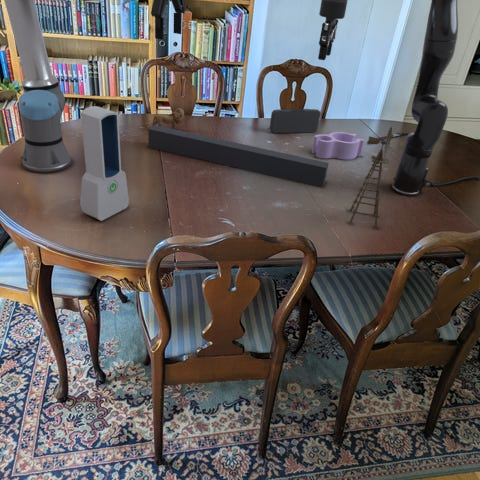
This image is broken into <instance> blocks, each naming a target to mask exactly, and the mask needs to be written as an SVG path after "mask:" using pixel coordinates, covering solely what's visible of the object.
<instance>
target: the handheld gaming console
mask: <svg viewBox="0 0 480 480" xmlns="http://www.w3.org/2000/svg"><path fill="white" fill-rule="evenodd" d="M321 115H322V113H321V111H320V110H319V109H316V108H283V109H273V110H272V111H271V114H270V123H269V131H270V132H271V133H272V134H290V133H292V134H293V133H315V132H317V131H318V129H319V123H320V118H321Z"/></svg>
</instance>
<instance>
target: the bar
mask: <svg viewBox="0 0 480 480" xmlns="http://www.w3.org/2000/svg"><path fill="white" fill-rule="evenodd" d="M151 126H152V125H151ZM151 126H150V127H151ZM150 127H149V128H148V129H147V133H148V135H147V137H148V138H147V139H148V148H150V149H154V150H159V151H163V152H168V153H172V154H176V155H181V156H185V157H188V158H193V159H197V160H202V161H207V162H211V163H215V164H220V165H224V166H227V167H228V166H229V167H232V168H238V169H242V170H246V171H250V172H253V173H258V174H264V175H268V176H272V177H276V178H281V179H285V180H289V181H293V182H297V183H301V184H307V185H311V186H315V187H320V188H323V186H324V184H325V182H326V178H327V173H328V168H329V162H327V161H323V160H317V159H313V158H309V157H304V156H298V155H295V154H289V153H285V152H281V151H276V150H272V149H266V148H261V147H258V146H253V145H248V144H243V143H239V142H236V141H235V142H234V141H229V140H226V139H220V138H215V137H211V136H207V135H202V134H198V133H193V132H188V131H183V130H179V129H176V130H175V129H172V128H170V127H164V126H161V125H160V126H158V125H157V124H156V125H154V126H152V127H151V128H150Z"/></svg>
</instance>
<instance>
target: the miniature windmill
mask: <svg viewBox="0 0 480 480" xmlns="http://www.w3.org/2000/svg"><path fill="white" fill-rule="evenodd" d="M392 135H393V126H390V127H389V129H388V131H387V134H386V136H387V138H385V139H381V140H379V139H377V138H378V137H373V136H368V140H367V145H378V144H381V148H380V149H379V151H378V153H377V155H371V158H370V159H371V162H372V163H371V167H370V169H369V170H368V173H367V175H366V176H365V177H364V181H363V182H362V184H361V186H360V188H359V189H358V193H357V194H356V196H355V199H354V200H353V201H352V205H351V207H350V209H349V212H352V215H351V217H350V220H349V224H352V223H353V220H354V218H355V216H356V214H358V215H359V214H360V215H364V216H370V217H375V218H374V228H377V226H378V218H379V217H380V215H379V203H380V200H381V198H380V189H381V185H382V182H381V181H382V172H383V164H384V165H386V164H387V165H389V164H390V161H389V158H388V157H387V154H388V150H389V149H390V148H389V146H390V145H391V141H392V137H391V136H392ZM383 147H384V148H383ZM383 150H384V151H383ZM376 168H379V169H376ZM374 171H375V172H378V176H377V177H374V176H373V174H374ZM371 179H372V180H377V183H373V182H370V181H371ZM369 185H372V186H376V189H370V188H368V186H369ZM366 191H367V192H373V193H375V197H372V196H371V197H370V196H364V195H365V193H366ZM363 199H367V200H368V199H369V200H374V201H375V202H374V203H368V202H362V200H363ZM360 204H362V205H367V206H368V205H369V206H373V207H374V209H373V214H372V213H365V212H360V211H358V209H359V206H360ZM355 205H356V206H355Z"/></svg>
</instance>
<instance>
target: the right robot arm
mask: <svg viewBox="0 0 480 480" xmlns="http://www.w3.org/2000/svg"><path fill="white" fill-rule="evenodd" d="M348 1H349V0H321V1H320V7H319V13H318V15H319V16H320V17H322V18H325V21H324V22H322V24H321V31H320V36H319V41H318V45H319V51H318V56H317V58H318V60H321V61H325V60H326V59H327V56H328V57H329V56H330V55H331V54H332V49H333V43H334V41H335V40H336V35H337V30H338V24H339V20H343V19H344V18H345V16H346V12H347V7H348V6H347V5H348ZM458 14H459V13H458V0H431V2H430V8H429V12H428V16H427V17H428V18H427V22H426V28H425V32H424V33H425V34H424V39H423V45H422V54H421V61H420V66H419V73H418V80H417V84H416V88H415V92H414V95H413V100H412V103H411V109H410V113H411V116H412V118H413V120H414V121H415V122H416V123H417V125H416V129H415V131H414V132H411V133H409V134H407V136H406V139H405V143H404V145H403V146H404V147H403V149H402V153H401V156H400V160H399V163H398V166H397V170H396V173H395V176H394V177H393V180H392V181H393V183H392V186H391V188H392V190H393V191H395V192H396V193H397V194H399V195H400V194H401V195H404V196H411V197H412V196H417V195H418V194H421V193H422V190H423V188H426V185H427V183H428V184H430V186H432V187H440V186H446V185H450V184H455V183H457V182H460V181H463V180H464V181H465V180H469V179H476V180H477V181H480V178H479V176H477V175H470V176H467V177H461V178H457V179H455V180H452V181H447V182H443V183H433V182H432V181H431V180H428V179H427V175H428V172H429V167H428V165H429V163H430V159H431V156H432V153H433V150H434V147H435V145H436V143H437V142H438V141H439V139H440V138H441V136H442V133H443V130H444V127H445V125H446V122H447V120H448V115H449V108H448V106H447V104H446V103H445V102H444V101H442V100H441V99H439V98H438V97H439V95H438V94H439V87H440V84H441V83H440V82H441V79H442V76H443V74H444V73H445V71H446V70H447V68H448V67H449V65H450V63H451V61H452V60H453V57H454V55H455V51H456V50H455V49H456V46H457V41H458V33H459V15H458Z"/></svg>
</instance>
